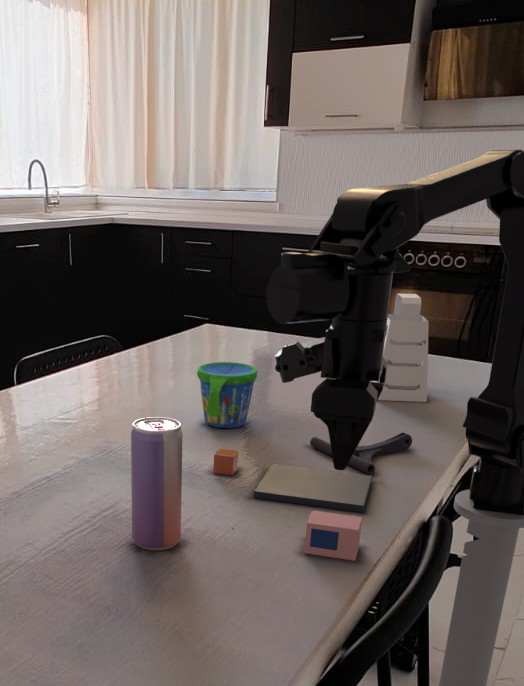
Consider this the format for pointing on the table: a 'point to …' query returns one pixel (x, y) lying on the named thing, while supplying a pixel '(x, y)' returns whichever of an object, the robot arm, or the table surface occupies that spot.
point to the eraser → (333, 535)
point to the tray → (314, 487)
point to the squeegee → (368, 450)
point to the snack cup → (226, 392)
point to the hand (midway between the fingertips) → (344, 456)
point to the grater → (406, 351)
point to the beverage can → (156, 482)
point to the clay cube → (225, 461)
